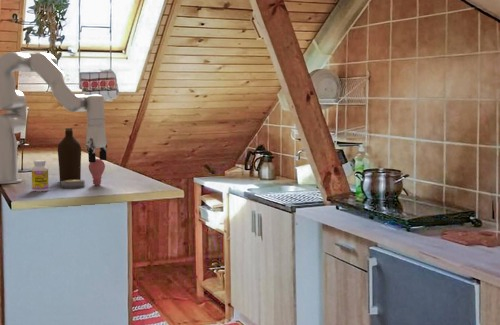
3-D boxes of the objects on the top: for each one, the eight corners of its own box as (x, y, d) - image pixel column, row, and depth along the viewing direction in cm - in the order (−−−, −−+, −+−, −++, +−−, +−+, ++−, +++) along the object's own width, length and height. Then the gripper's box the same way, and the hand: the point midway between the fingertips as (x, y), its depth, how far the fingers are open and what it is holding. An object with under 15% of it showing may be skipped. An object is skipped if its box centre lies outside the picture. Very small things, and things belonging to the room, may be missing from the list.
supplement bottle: (32, 192, 270) (31, 161, 268) (31, 190, 276) (30, 160, 274) (49, 191, 272) (48, 161, 271) (47, 189, 278) (46, 159, 277)
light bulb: (98, 183, 295) (98, 157, 294) (108, 185, 291) (108, 158, 289) (85, 185, 290) (85, 158, 288) (95, 187, 285) (95, 160, 284)
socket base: (56, 187, 282) (56, 181, 282) (69, 184, 292) (69, 178, 291) (77, 188, 279) (76, 182, 279) (88, 185, 289) (88, 179, 289)
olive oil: (70, 183, 295) (69, 128, 292) (53, 181, 300) (52, 128, 297) (86, 180, 305) (85, 127, 302) (69, 179, 309) (68, 127, 307)
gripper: (98, 121, 296) (99, 159, 298) (78, 123, 280) (80, 163, 282) (113, 121, 294) (114, 159, 296) (93, 123, 278) (95, 163, 279)
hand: (97, 161), depth 289 cm, fingers open, 9 cm apart
